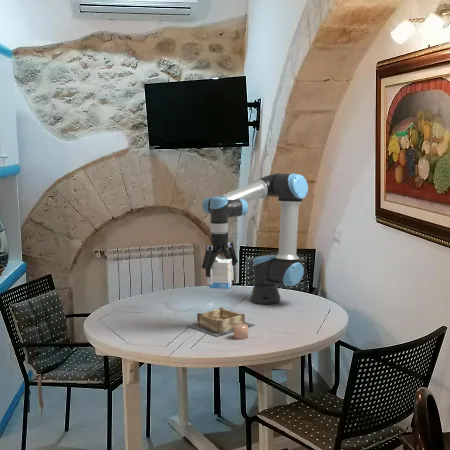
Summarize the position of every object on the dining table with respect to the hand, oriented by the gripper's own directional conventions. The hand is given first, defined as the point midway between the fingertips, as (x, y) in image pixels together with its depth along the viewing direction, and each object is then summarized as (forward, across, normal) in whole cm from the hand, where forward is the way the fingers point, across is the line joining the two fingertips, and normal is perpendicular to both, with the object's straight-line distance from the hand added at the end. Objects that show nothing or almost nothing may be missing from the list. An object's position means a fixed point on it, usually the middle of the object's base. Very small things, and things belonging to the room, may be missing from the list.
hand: (220, 281), depth 264 cm
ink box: (+2, 0, 0) cm, 2 cm away
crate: (+20, 0, 0) cm, 20 cm away
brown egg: (+20, +4, +17) cm, 27 cm away
